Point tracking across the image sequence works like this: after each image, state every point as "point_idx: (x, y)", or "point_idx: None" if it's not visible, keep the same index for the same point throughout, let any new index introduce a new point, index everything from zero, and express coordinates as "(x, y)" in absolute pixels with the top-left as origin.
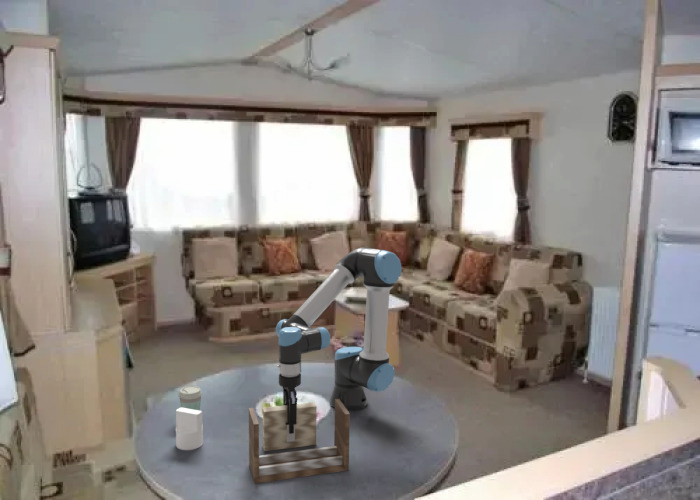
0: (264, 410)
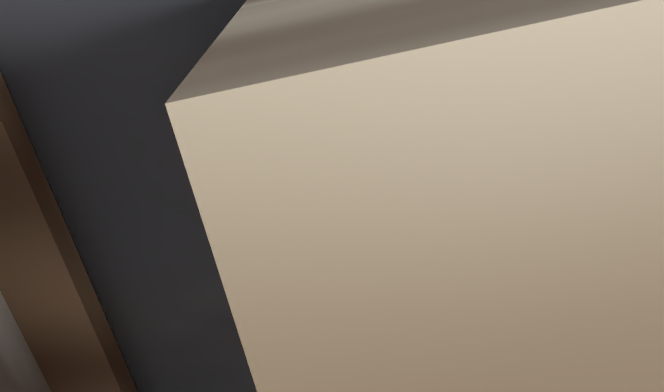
0: (514, 108)
